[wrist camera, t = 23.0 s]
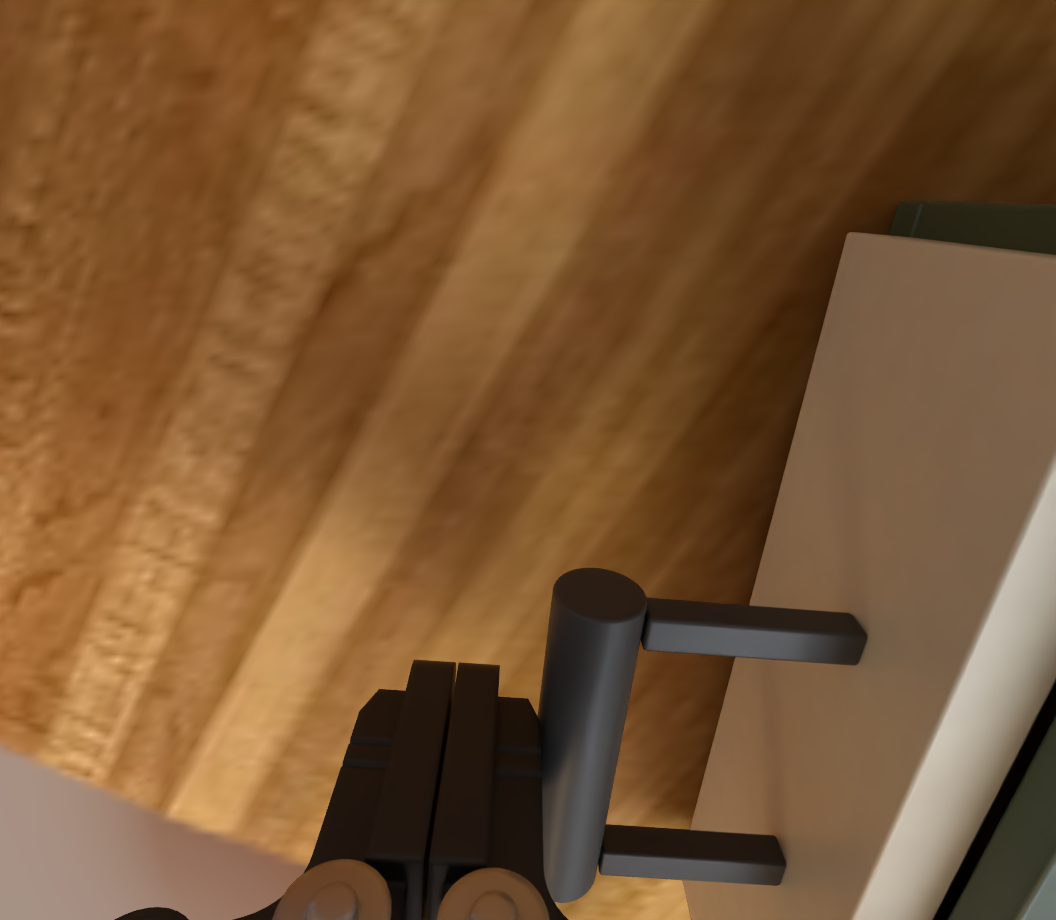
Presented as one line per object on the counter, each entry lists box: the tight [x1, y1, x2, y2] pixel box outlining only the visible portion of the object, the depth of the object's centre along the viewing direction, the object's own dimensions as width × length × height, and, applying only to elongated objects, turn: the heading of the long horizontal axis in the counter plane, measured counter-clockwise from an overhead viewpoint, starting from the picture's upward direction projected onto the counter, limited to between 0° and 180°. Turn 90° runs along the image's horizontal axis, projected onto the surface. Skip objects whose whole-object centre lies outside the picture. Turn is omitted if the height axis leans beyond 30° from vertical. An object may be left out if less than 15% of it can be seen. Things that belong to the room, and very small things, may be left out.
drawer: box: [538, 232, 1056, 920], centre depth 12 cm, size 18×16×6 cm
